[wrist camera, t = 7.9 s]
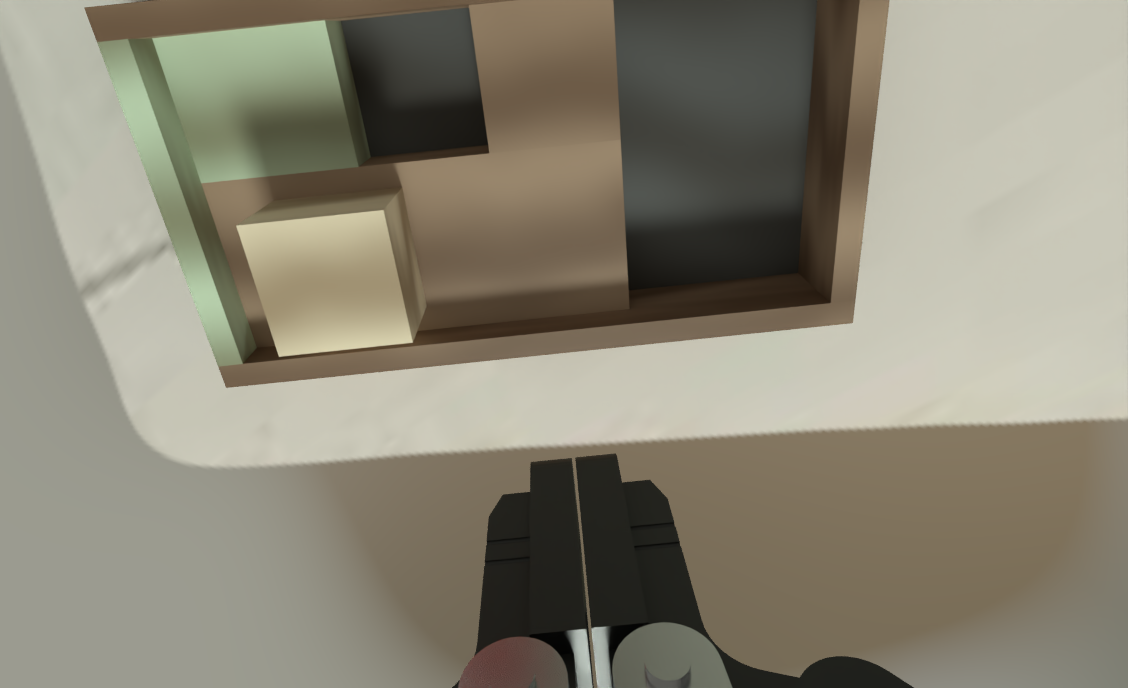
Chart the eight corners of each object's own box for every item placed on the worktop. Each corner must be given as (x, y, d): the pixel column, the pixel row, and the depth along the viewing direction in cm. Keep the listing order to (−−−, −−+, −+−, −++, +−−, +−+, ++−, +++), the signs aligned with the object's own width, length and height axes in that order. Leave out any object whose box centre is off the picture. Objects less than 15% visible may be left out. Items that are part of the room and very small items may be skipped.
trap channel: (150, 10, 24) (84, 7, 21) (843, -62, 24) (898, -77, 21) (262, 345, 30) (226, 387, 27) (814, 287, 30) (852, 323, 27)
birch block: (273, 200, 25) (236, 225, 22) (402, 187, 25) (383, 209, 22) (308, 318, 27) (278, 356, 24) (426, 306, 27) (412, 342, 24)
